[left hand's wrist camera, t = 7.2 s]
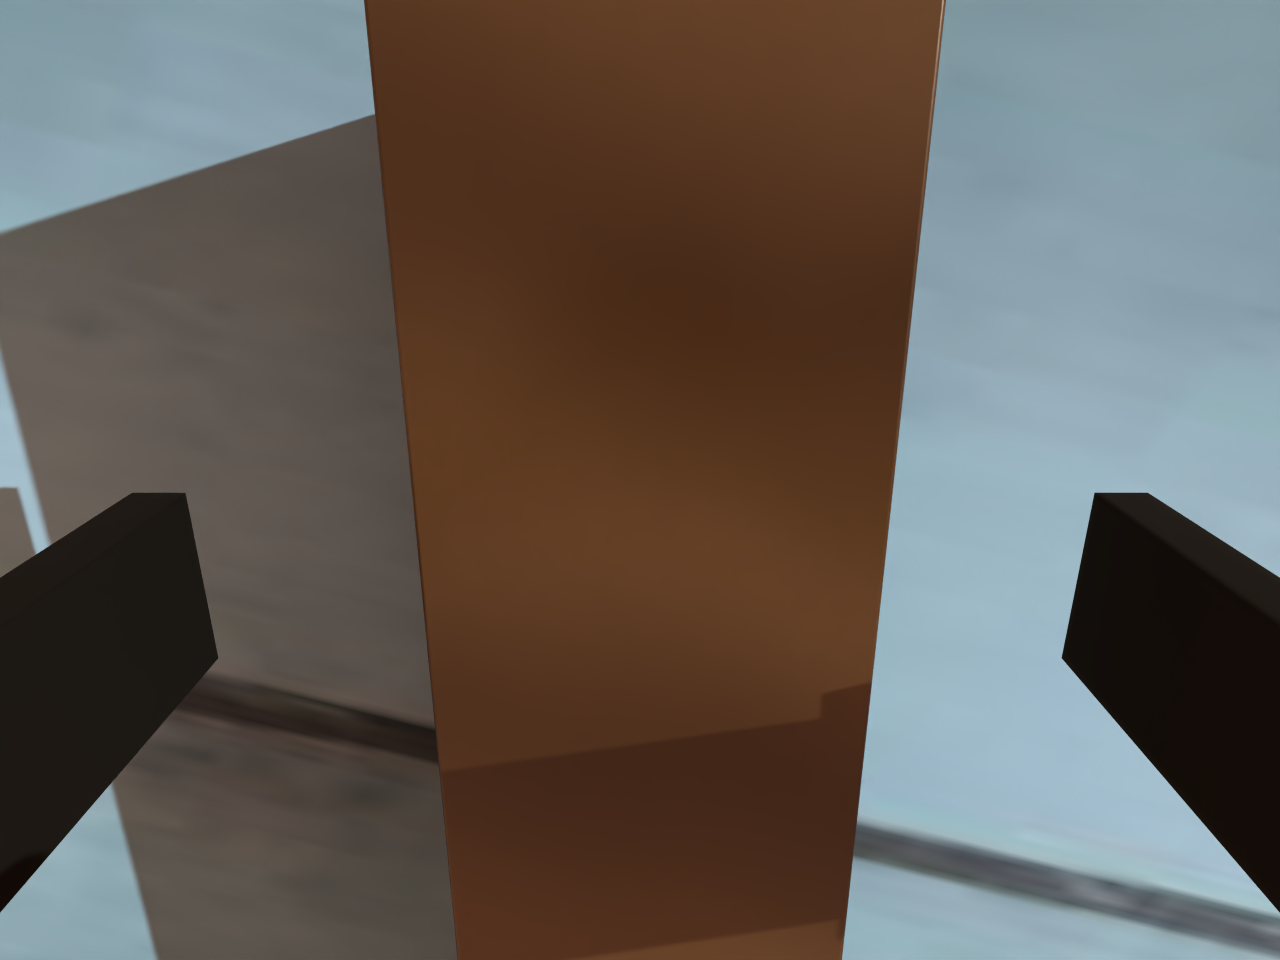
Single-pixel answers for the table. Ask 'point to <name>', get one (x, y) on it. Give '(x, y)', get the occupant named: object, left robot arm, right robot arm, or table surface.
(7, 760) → the left robot arm
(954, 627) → the table surface
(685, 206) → the post
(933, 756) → the table surface
